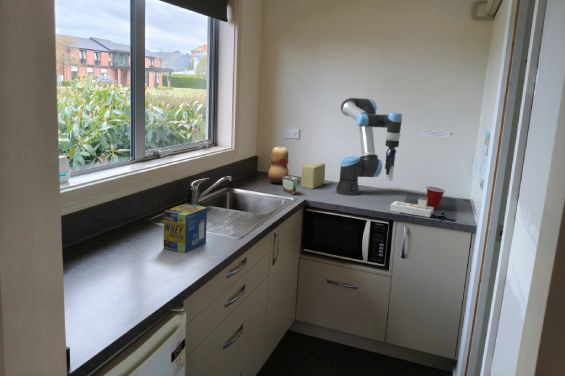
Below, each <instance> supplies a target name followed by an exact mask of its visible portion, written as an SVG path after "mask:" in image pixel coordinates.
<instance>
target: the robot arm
mask: <svg viewBox="0 0 565 376" xmlns="http://www.w3.org/2000/svg"><path fill="white" fill-rule="evenodd" d="M340 104H341V105H340V111H341V113H342V114H343V115H345V116H346V117H350V118H352V119H353V120H354V121H355V122H356V125H357V126H358V127H359V135H360V136H359V139H360V148H361V149H360V150H361V151H360V152H361V155H360V156H355V155H353V156H345V157H342V159H341V160H340V168H339V169H340V173H339V180H338V183H337V186H336V188H335V193H337V194H339V195H340V194H341V195H345V196H357V195H360V186H359V183H358V181H359V178H377V177H379V176H380V175H381V172H382V169H383V162H382V159H380V158H379V156H378V155H377V154H376V150H375V149H376V148H375V138H374V130H373V129H374V128H381V129H382V128H383V129H384V128H385V129H386V136H385V139H386V140H385V146H386V147H388V149H387V150H386V151H385V164H384V170H385V169H386V173H385V180H384V181H388V180H390V172H391V165H394V166H395V159H396V153H397V149H396V148H398V147H399V146H400V141H399V140H400V137H401V129H402V128H401V127H402V122H403V119H402V117H403V115H402V113H399V112H389V114H385V113H384V114H377V104H376V102H375V101H374V99H371V98H360V97H358V98H357V97H349V98H346V99H345V100H344V101H342V103H340Z"/></svg>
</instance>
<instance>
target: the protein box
mask: <svg viewBox="0 0 565 376" xmlns="http://www.w3.org/2000/svg"><path fill="white" fill-rule="evenodd" d="M207 214H208V207H206V206H201V205H196V204H191V203H184V204H181V205H177V206H174V207H172V208H170V209H169V208H168V209H166V210H163V249H164V250H168V251H173V252H178V253H181V254H187V253H189V252H191V251H193V250H194V249H197V248H198V247H200V246H203V245H205V244H206V243H207V223H208V218H207V217H208V215H207Z"/></svg>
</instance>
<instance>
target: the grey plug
mask: <svg viewBox="0 0 565 376" xmlns="http://www.w3.org/2000/svg"><path fill="white" fill-rule="evenodd" d="M394 169H395V164H394V165H391V172H390V180H387V181H390V182H391V181H393V180H394V179H393V177H394ZM383 172H384V173H383V180H384V181H386V180H385V173H386V169H385V168H384V171H383Z"/></svg>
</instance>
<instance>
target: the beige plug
mask: <svg viewBox="0 0 565 376" xmlns="http://www.w3.org/2000/svg"><path fill="white" fill-rule="evenodd" d="M427 201H428V198H427V197H424V196H423V197H422V196H419V197H418V198H417V205H418V206H417V208H421V209H427V206H428V202H427Z"/></svg>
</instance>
